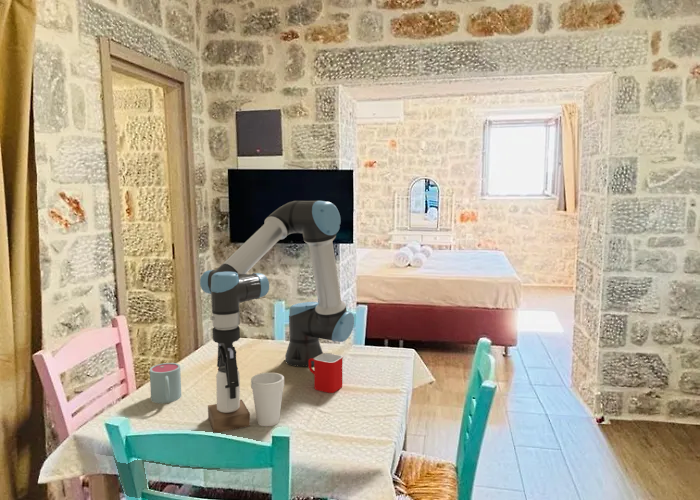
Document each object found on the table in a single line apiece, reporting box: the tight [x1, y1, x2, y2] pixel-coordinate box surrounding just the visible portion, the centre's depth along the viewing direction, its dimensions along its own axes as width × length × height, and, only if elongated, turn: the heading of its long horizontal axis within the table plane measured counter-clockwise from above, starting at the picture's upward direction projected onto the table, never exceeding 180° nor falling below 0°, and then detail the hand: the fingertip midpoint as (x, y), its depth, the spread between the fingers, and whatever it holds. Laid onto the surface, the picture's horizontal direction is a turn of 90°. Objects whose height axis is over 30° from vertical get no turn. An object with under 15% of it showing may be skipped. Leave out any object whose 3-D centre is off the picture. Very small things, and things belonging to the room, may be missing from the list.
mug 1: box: [149, 362, 182, 404], centre depth 157 cm, size 14×9×10 cm
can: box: [215, 366, 241, 413], centre depth 141 cm, size 6×6×12 cm
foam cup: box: [250, 371, 285, 427], centre depth 142 cm, size 10×9×13 cm
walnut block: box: [207, 399, 251, 433], centre depth 142 cm, size 10×10×4 cm
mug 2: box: [308, 352, 344, 394], centre depth 168 cm, size 12×8×11 cm
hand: (228, 400), depth 142 cm, fingers open, 11 cm apart
